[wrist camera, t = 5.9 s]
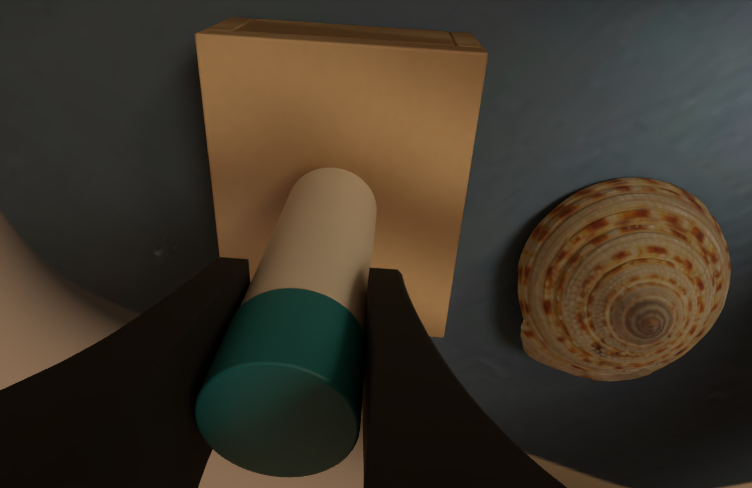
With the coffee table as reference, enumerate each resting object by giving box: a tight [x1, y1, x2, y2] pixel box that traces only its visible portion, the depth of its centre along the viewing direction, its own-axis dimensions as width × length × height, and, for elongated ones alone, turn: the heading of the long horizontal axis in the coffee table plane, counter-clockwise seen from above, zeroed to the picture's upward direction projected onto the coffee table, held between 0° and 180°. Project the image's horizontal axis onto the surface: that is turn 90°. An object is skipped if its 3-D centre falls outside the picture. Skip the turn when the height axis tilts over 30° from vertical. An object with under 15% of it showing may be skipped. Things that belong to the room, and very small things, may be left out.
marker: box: [195, 168, 377, 477], centre depth 12 cm, size 3×3×8 cm
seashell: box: [517, 177, 731, 381], centre depth 21 cm, size 8×6×8 cm
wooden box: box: [195, 17, 488, 338], centre depth 18 cm, size 10×8×4 cm
